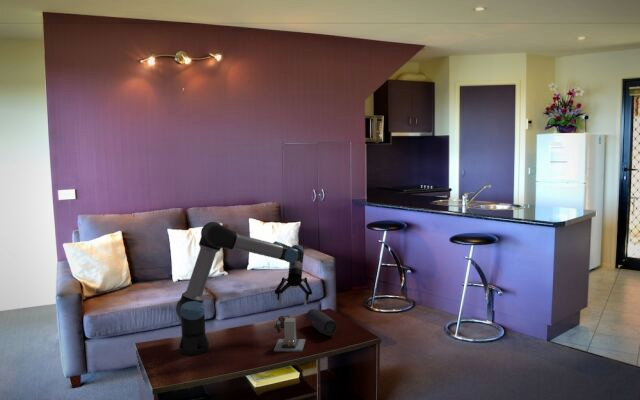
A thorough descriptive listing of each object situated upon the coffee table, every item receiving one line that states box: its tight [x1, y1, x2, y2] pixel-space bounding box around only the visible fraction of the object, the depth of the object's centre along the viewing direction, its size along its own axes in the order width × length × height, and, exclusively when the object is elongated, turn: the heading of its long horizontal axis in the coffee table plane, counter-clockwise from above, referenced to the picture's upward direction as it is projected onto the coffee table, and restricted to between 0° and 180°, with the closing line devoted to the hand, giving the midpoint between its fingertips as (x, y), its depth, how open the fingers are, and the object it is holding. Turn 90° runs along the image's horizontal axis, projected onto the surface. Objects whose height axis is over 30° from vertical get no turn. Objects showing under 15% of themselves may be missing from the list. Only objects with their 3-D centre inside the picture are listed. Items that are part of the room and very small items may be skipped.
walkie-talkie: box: [276, 315, 291, 331], centre depth 298 cm, size 9×4×20 cm
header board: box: [273, 338, 306, 352], centre depth 267 cm, size 14×14×1 cm
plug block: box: [283, 317, 297, 345], centre depth 268 cm, size 5×6×12 cm
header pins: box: [281, 340, 296, 348], centre depth 262 cm, size 7×2×4 cm, turn 85°
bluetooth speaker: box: [305, 308, 338, 336], centre depth 287 cm, size 23×9×10 cm, turn 25°
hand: (292, 305), depth 278 cm, fingers open, 13 cm apart
